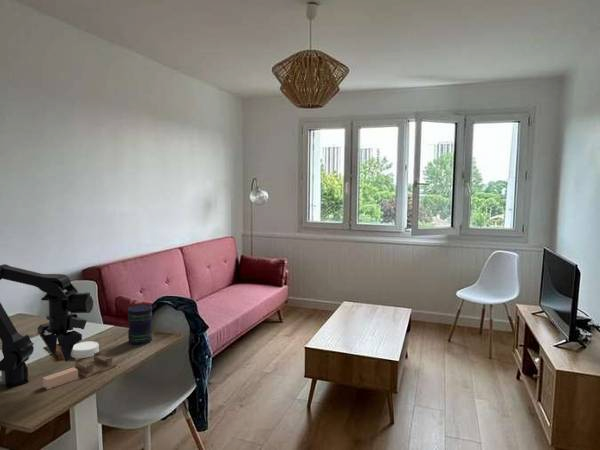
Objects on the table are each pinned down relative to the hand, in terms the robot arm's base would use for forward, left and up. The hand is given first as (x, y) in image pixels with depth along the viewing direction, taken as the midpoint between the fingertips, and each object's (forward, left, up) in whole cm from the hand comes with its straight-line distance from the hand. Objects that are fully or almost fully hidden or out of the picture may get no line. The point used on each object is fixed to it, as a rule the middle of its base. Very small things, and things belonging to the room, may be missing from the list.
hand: (60, 357), depth 138 cm
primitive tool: (+11, +28, -10) cm, 32 cm away
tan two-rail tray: (+13, +2, -9) cm, 15 cm away
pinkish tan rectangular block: (0, 0, -9) cm, 9 cm away
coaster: (+18, +18, -9) cm, 27 cm away
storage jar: (+39, +12, -9) cm, 41 cm away
